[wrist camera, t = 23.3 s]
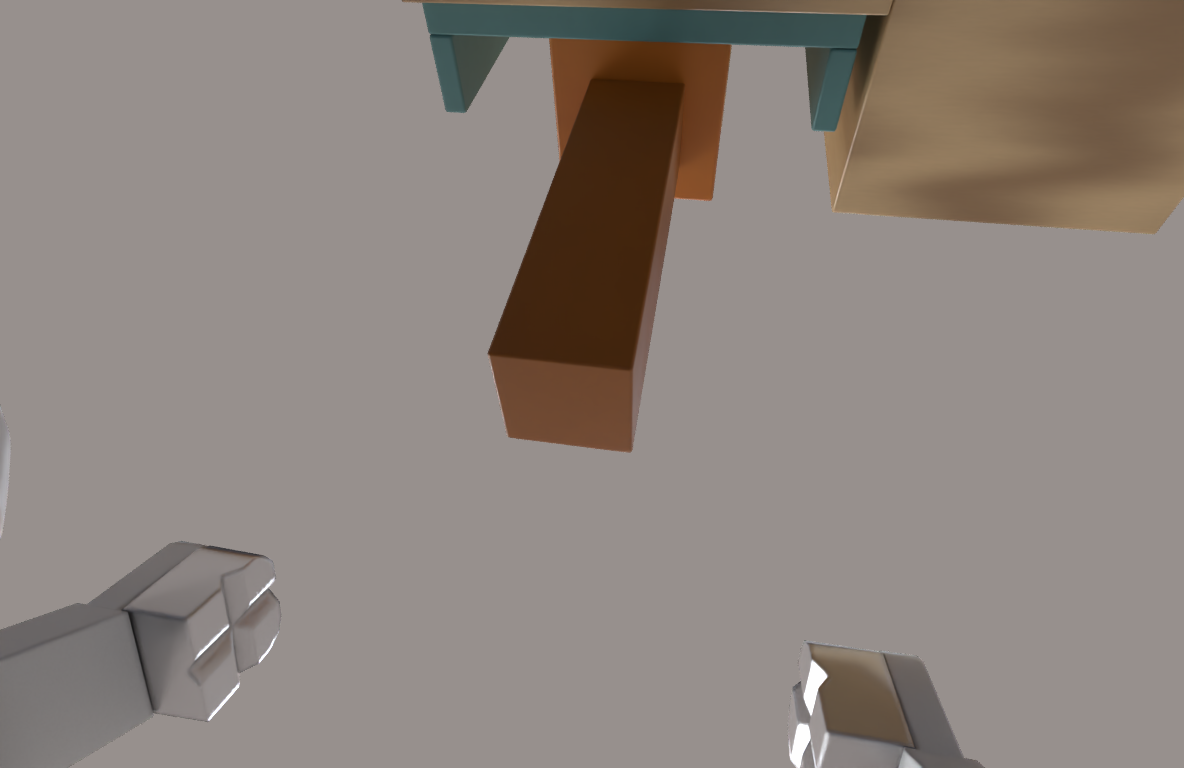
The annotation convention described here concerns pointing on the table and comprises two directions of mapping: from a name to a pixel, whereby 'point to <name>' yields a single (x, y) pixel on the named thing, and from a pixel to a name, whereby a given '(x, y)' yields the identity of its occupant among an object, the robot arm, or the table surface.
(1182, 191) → the riser
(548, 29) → the tray
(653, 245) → the orange block with handle
